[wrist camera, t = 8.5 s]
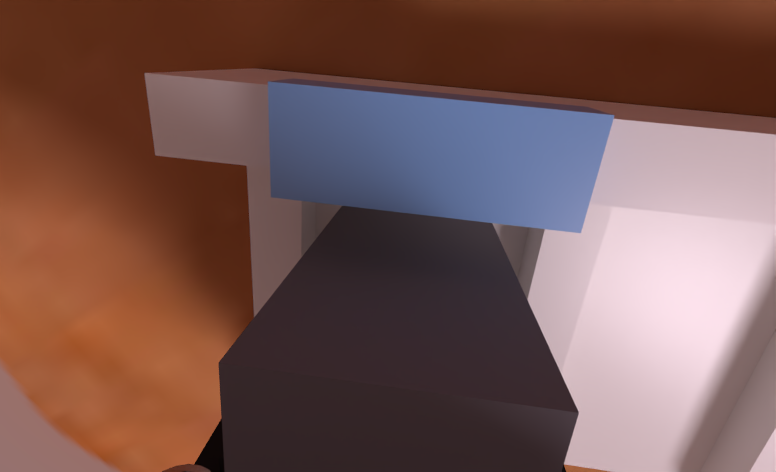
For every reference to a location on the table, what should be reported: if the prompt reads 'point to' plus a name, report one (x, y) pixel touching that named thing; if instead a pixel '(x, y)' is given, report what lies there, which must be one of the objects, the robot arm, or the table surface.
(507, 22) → the table surface
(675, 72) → the table surface
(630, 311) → the white ribbed panel
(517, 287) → the block
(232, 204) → the table surface
